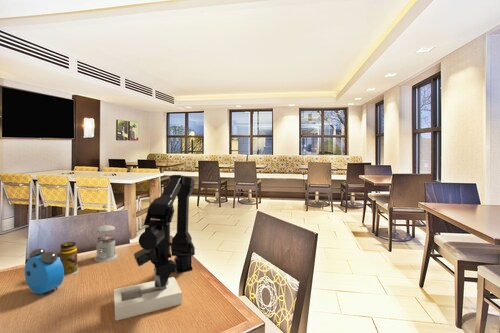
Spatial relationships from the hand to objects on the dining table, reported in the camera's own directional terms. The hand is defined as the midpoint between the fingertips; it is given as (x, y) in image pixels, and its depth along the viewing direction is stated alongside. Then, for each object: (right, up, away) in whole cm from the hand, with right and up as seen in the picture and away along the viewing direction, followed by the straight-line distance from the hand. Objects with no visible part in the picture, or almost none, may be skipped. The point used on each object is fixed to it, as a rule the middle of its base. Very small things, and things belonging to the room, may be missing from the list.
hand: (161, 283), depth 93 cm
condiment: (-46, -4, +19) cm, 50 cm away
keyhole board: (-4, -6, -2) cm, 7 cm away
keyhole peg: (0, -5, 0) cm, 5 cm away
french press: (-38, -3, +35) cm, 51 cm away
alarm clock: (-44, -5, +5) cm, 44 cm away
